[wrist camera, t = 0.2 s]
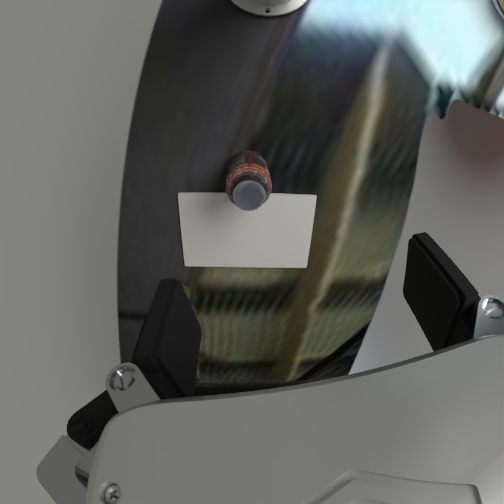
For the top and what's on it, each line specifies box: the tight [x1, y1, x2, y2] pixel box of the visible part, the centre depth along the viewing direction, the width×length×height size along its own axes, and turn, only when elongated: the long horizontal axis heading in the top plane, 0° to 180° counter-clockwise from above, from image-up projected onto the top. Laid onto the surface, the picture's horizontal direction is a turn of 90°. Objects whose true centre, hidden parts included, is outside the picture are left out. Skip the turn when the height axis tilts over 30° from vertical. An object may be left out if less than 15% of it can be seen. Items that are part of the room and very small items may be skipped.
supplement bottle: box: [226, 151, 272, 211], centre depth 40 cm, size 6×6×11 cm
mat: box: [178, 192, 317, 268], centre depth 50 cm, size 14×22×1 cm, turn 88°
